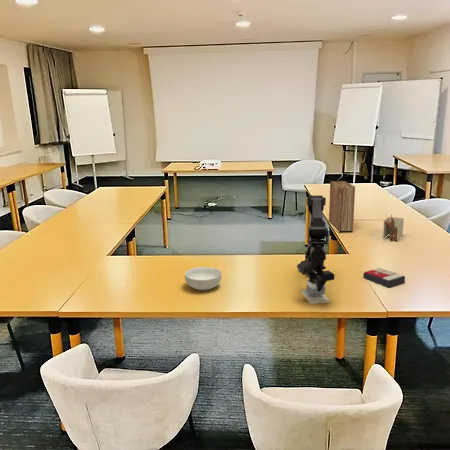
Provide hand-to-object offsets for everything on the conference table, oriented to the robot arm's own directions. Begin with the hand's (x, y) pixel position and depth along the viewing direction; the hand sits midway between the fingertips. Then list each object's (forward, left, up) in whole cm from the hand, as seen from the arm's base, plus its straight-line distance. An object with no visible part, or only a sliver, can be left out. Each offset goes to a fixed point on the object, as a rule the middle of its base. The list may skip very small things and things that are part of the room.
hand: (316, 289), depth 190 cm
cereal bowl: (-30, -41, -4) cm, 51 cm away
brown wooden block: (-92, +73, -4) cm, 117 cm away
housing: (0, 0, -2) cm, 2 cm away
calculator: (-5, +39, -5) cm, 39 cm away
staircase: (-57, +87, -5) cm, 104 cm away
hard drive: (-1, 0, -5) cm, 5 cm away
